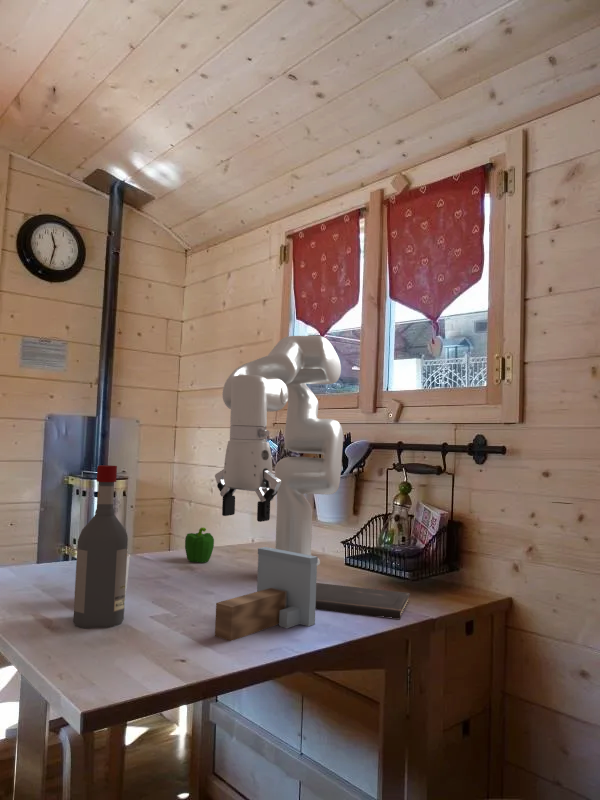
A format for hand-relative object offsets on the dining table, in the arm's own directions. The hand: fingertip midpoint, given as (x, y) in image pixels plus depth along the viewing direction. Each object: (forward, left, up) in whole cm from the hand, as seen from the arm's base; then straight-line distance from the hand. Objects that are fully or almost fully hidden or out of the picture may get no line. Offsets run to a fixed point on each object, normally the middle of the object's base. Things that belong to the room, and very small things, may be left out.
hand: (245, 518), depth 126 cm
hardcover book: (-25, +11, -21) cm, 35 cm away
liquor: (+22, -17, -20) cm, 34 cm away
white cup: (+13, -27, -20) cm, 36 cm away
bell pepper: (-30, -46, -20) cm, 59 cm away
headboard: (-4, +7, -20) cm, 21 cm away
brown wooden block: (+4, +7, -20) cm, 21 cm away
